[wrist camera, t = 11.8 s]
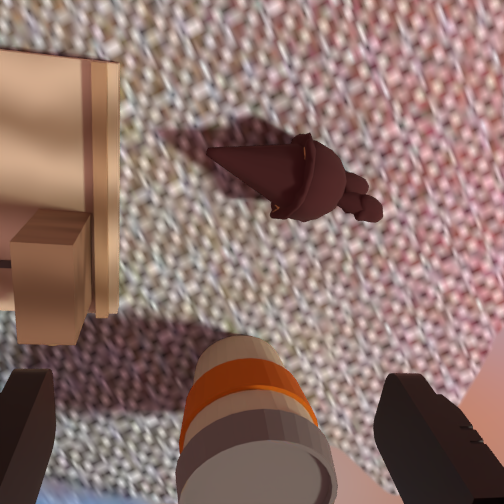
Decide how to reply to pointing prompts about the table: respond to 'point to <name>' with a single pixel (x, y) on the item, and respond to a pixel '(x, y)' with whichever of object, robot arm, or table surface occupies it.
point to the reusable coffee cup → (250, 432)
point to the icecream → (300, 179)
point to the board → (61, 157)
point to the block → (52, 277)
